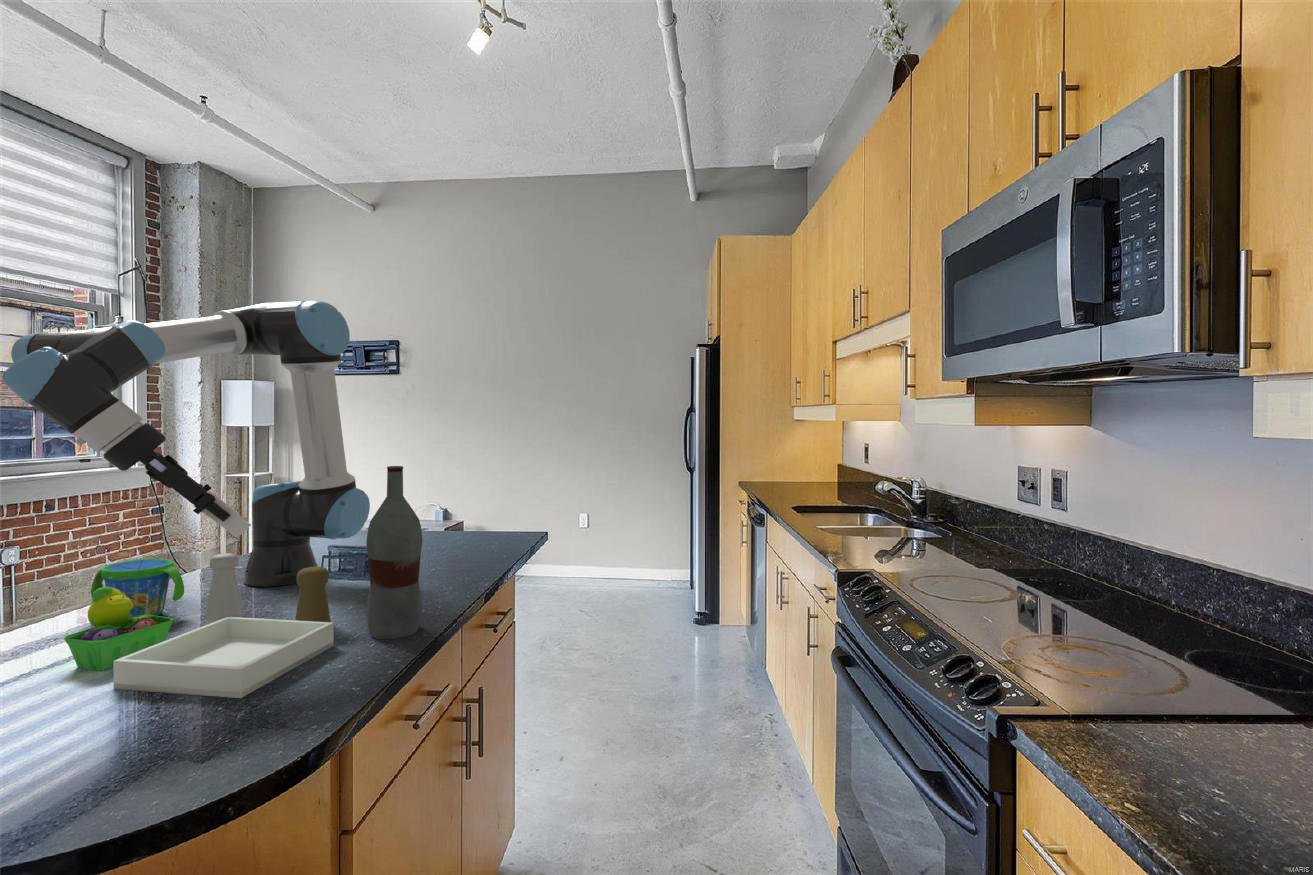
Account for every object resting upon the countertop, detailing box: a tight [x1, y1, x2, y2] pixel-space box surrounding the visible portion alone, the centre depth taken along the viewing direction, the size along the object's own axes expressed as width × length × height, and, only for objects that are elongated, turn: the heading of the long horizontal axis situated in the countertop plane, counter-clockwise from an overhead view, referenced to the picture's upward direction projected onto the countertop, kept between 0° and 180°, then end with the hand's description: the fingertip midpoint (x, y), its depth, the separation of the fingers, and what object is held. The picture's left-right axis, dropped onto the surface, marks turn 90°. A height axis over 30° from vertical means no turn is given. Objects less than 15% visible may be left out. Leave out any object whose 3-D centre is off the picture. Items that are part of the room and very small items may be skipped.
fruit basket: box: [63, 586, 174, 672], centre depth 96 cm, size 11×9×11 cm
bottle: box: [365, 465, 423, 640], centre depth 109 cm, size 9×9×30 cm
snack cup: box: [90, 558, 185, 618], centre depth 116 cm, size 16×10×10 cm
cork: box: [295, 566, 331, 622], centre depth 111 cm, size 6×6×11 cm
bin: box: [112, 616, 335, 699], centre depth 94 cm, size 20×20×4 cm
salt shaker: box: [204, 552, 244, 624], centre depth 112 cm, size 6×6×13 cm
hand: (239, 525), depth 104 cm, fingers open, 13 cm apart
